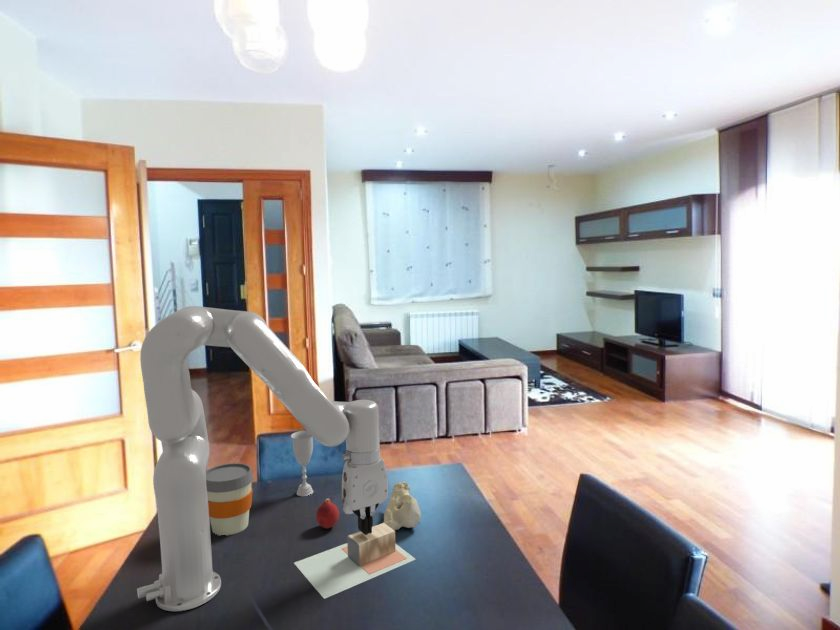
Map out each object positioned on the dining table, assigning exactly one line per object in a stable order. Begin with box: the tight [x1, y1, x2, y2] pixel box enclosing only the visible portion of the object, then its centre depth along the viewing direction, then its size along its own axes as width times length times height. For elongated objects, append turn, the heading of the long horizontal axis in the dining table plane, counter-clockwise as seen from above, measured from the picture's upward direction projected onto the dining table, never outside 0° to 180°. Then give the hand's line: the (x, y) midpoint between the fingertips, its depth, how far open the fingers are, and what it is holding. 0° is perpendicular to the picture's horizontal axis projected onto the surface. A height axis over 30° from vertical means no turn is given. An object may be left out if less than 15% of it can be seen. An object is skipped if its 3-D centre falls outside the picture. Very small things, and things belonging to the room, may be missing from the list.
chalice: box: [290, 430, 314, 497], centre depth 154 cm, size 7×7×18 cm
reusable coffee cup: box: [206, 462, 254, 536], centre depth 135 cm, size 13×13×15 cm
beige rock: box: [383, 481, 422, 532], centre depth 135 cm, size 15×7×15 cm
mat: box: [293, 542, 417, 599], centre depth 118 cm, size 23×16×1 cm
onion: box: [315, 498, 340, 529], centre depth 133 cm, size 6×6×8 cm
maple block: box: [346, 522, 396, 566], centre depth 120 cm, size 5×5×10 cm
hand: (365, 531), depth 119 cm, fingers closed
